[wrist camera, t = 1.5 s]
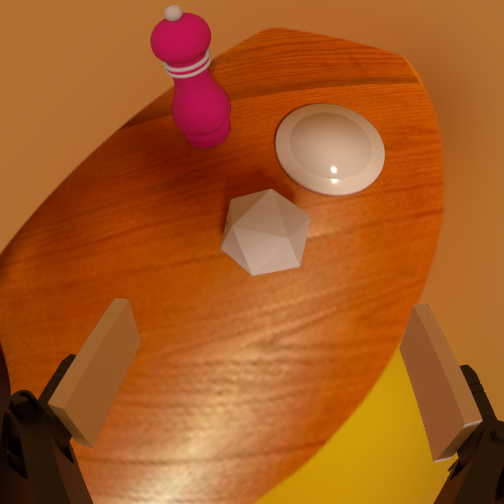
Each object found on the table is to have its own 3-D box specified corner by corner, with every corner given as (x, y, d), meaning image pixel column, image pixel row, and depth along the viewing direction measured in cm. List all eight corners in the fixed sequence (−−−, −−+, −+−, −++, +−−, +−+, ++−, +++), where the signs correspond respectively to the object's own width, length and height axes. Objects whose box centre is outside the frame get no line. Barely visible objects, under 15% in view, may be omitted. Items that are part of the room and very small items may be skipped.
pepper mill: (211, 103, 43) (182, -16, 24) (245, 129, 41) (227, -1, 22) (171, 132, 42) (121, 16, 22) (203, 161, 40) (157, 35, 21)
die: (269, 196, 38) (209, 177, 31) (333, 206, 33) (280, 184, 26) (254, 263, 39) (192, 259, 32) (316, 283, 34) (259, 285, 26)
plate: (275, 195, 38) (275, 190, 36) (275, 107, 42) (275, 101, 41) (390, 199, 37) (393, 194, 35) (373, 112, 41) (375, 106, 40)
